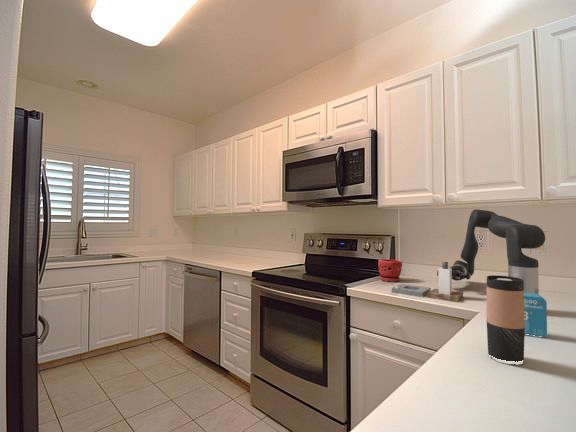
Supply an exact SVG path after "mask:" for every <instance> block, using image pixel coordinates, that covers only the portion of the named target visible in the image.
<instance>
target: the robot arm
mask: <svg viewBox="0 0 576 432" xmlns="http://www.w3.org/2000/svg"><path fill="white" fill-rule="evenodd" d="M476 228H481V229H488V230H489V232H490V233H491V234H493V235H494V236H497V237H499V238H503V239H505V241H506V242H505V243H506V244H505V245H506V256H507V272H508V273H507V274H508V275H507V276H509V277H516V278H520V279H523V281H524V293H530V294H538V295H540V287H539V285H540V283H539V276H540V275H539V260H538V259H536V258H533V257H532V256H531V257H530V256H528V255H526V254H525V253H523V251H522V249H525V250H527V249H529V250H531V249H538V248H541V247H542V246H543V245H544V243H545V242H546V235H545V232H544V230H543V229H542V228H541V227H539V226H538V225H535V224H529V223H523V222H520V221H518V220H515V219H512V218H510V217H507V216H504V215H499V214H497V213H496V212H493V211H490V210H487V209H486V210H484V209H476V208H475V209H473V210H472V211H471V213H470V215H469V218H468V223H467V229H466V235H465V239H464V243H463V247H462V250H461V253H460V259H461V260H456V261H454V263H453V265H452V266H450V267H449V268H451V269H452V281H462V280H465V279H466V280H470V279H471V276H473V274H474V273H475V259H476V257H477V254H478V251H479V243H478V241H477V237H476V234H475V230H476ZM436 275H437V276H436V277H438V270H436Z"/></svg>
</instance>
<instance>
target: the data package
mask: <svg viewBox="0 0 576 432" xmlns="http://www.w3.org/2000/svg"><path fill="white" fill-rule="evenodd" d="M547 304H548V303H547V300H546V299H545V298H544V297H542V295H540V294H539V295H538V294H530V293H524V319H525V327H524V328H525V334H529V335H535V336H542V337H543V338H545V337H546V336H547V335H548V314H547V313H548V312H547V311H548V310H547V309H548V305H547Z"/></svg>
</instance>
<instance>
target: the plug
mask: <svg viewBox="0 0 576 432" xmlns="http://www.w3.org/2000/svg"><path fill="white" fill-rule="evenodd" d="M437 271H438V276H437V277H438V280H437V281H438V289H439V293H440V294H447V295H452V291H453V286H452V285H453V283H452V282H453V279H452V269H451V268H450V267H449V262H448V261H442V262H441V267H440V268H439V267H438V270H437Z"/></svg>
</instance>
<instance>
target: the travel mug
mask: <svg viewBox="0 0 576 432" xmlns="http://www.w3.org/2000/svg"><path fill="white" fill-rule="evenodd" d="M524 327H525V319H524V281H523V279H520V278H516V277H509V276H508V275H494V274H493V275H487V276H486V334H487V335H486V336H487V338H486V339H487V354H489V355H491V356H493V357H495V358H497V359H501V360H506V361H515V362H516V361H517V362H518V361H522V360H524V359H525V336H526V335H525V328H524ZM489 355H488V356H489Z"/></svg>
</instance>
